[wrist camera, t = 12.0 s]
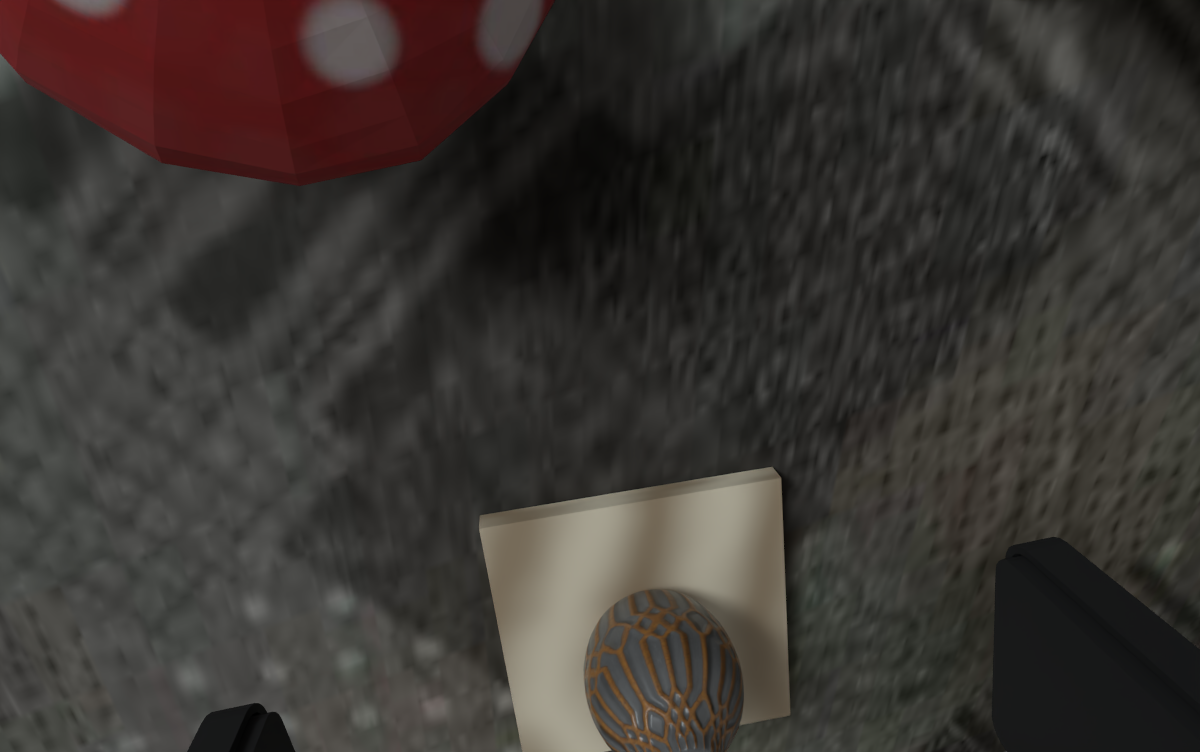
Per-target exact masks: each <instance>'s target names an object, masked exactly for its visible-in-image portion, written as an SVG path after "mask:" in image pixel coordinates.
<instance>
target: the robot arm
mask: <svg viewBox="0 0 1200 752" xmlns="http://www.w3.org/2000/svg"><path fill="white" fill-rule="evenodd" d="M992 720H993V724H994V728H995V731H996V733H997V736H998V738H999V740H1000V742H1001V743H1002V745H1003V746H1004V748H1005V749H1006V751H1007V752H1200V649H1198V648H1197V647H1196V646H1195V645H1193V644H1192V643H1191V642H1190V641H1188V640H1187V639H1186V638H1185V637H1183V636H1182V635H1181V634H1180V633H1178V632H1177V631H1176V630H1175V629H1174V628H1172V627H1171V626H1170V625H1169V624H1167V623H1166V622H1165V621H1164V620H1162V619H1161V618H1160V617H1159V616H1157V615H1156V614H1155V613H1154V612H1152V611H1151V610H1150V609H1149V608H1147V607H1146V606H1145V605H1144V604H1143V603H1141V602H1140V601H1139V600H1138V599H1136V598H1135V597H1134V596H1133V595H1131V594H1130V593H1129V592H1128V591H1126V590H1125V589H1124V588H1123V587H1121V586H1120V585H1119V584H1118V583H1117V582H1115V581H1114V580H1113V579H1112V578H1110V577H1109V576H1108V575H1107V574H1105V573H1104V572H1103V571H1102V570H1100V569H1099V568H1098V567H1097V566H1095V565H1094V564H1093V563H1092V562H1090V561H1089V560H1088V559H1087V558H1086V557H1084V556H1083V555H1082V554H1081V553H1079V552H1078V551H1077V550H1076V549H1074V548H1073V547H1072V546H1071V545H1069V544H1068V543H1067V542H1065V541H1064V540H1062V539H1060V538H1056V537H1051V538H1046V539H1041V540H1036V541H1032V542H1027V543H1022V544H1017V545H1013V546H1011V547H1009V549H1008V551H1007V552H1006V558H1005V559H1003V560H1000V561H999V562H998V563H997V566H996V583H995V621H994V658H993V696H992ZM187 752H295V750H294V748H293V745H292V743H291V740H290V738H289V736H288V733H287V731H286V728H285V726H284V724H283V721H282V719H281V717H280V715H279V714H278V713H276V712H270V713H267V712H266V710H265V708H264V707H263V706H262V705H261V704H259V703H253V704H249V705H244V706H239V707H234V708H229V709H225V710H220V711H215V712H211V713H210V714H208V715H207V716H206V717H205V719H204V720H203V722H202V723H201V725H200V727H199V729H198V731H197V733H196V735H195V737H194V739H193V741H192V743H191V745H190V747H189V749H188V751H187Z"/></svg>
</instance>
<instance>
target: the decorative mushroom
mask: <svg viewBox="0 0 1200 752" xmlns="http://www.w3.org/2000/svg"><path fill="white" fill-rule="evenodd" d="M554 1H555V0H0V54H1V55H2V56H3V57H4V58H5V59H6V60H7V62H8V63H9V64H10V65H11V66H12V67H13V68H14V69H15V71H16V72H17V73H18V74H19V75H20V76H21V77H22V78H23V79H24V81H25V82H26V83H28V84H30V85H31V86H33V87H35V88H36V89H38V90H40V91H41V92H43V93H45V94H46V95H48V96H50V97H51V98H53V99H55V100H57V101H58V102H60V103H62V104H63V105H65V106H67V107H68V108H70V109H72V110H73V111H75V112H77V113H79V114H80V115H82V116H84V117H85V118H87V119H89V120H90V121H92V122H94V123H95V124H97V125H99V126H100V127H102V128H104V129H106V130H107V131H109V132H111V133H112V134H114V135H116V136H117V137H119V138H121V139H122V140H124V141H126V142H127V143H129V144H131V145H133V146H134V147H136V148H138V149H139V150H141V151H143V152H144V153H146V154H148V155H149V156H151V157H153V158H154V159H156V160H158V161H160V162H161V163H165V164H171V165H177V166H183V167H189V168H195V169H201V170H207V171H213V172H219V173H225V174H231V175H237V176H243V177H249V178H255V179H261V180H267V181H273V182H279V183H285V184H291V185H297V186H302V185H306V184H311V183H316V182H320V181H325V180H330V179H335V178H339V177H344V176H349V175H354V174H358V173H363V172H368V171H372V170H377V169H382V168H387V167H391V166H396V165H401V164H406V163H410V162H415V161H420V160H422V159H423V158H424V157H426V156H427V155H428V154H429V153H430V152H431V151H432V150H433V149H435V148H436V147H437V146H438V145H439V144H440V143H441V142H443V141H444V140H445V139H446V138H447V137H448V136H449V135H450V134H452V133H453V132H454V131H455V130H456V129H457V128H458V127H460V126H461V125H462V124H463V123H464V122H465V121H466V120H468V119H469V118H470V117H471V116H472V115H473V114H474V113H475V112H477V111H478V110H479V109H480V108H481V107H482V106H483V105H485V104H486V103H487V102H488V101H489V100H490V99H491V98H493V97H494V96H495V95H496V94H497V93H498V92H499V91H500V90H502V89H503V88H504V87H505V86H506V85H507V84H508V83H509V81H510V80H511V78H512V76H513V74H514V72H515V71H516V69H517V67H518V65H519V64H520V62H521V60H522V58H523V57H524V55H525V53H526V51H527V49H528V48H529V46H530V44H531V42H532V41H533V39H534V37H535V35H536V33H537V32H538V30H539V28H540V26H541V25H542V23H543V21H544V19H545V17H546V16H547V14H548V12H549V10H550V9H551V7H552V5H553V3H554Z"/></svg>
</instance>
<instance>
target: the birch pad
mask: <svg viewBox="0 0 1200 752" xmlns="http://www.w3.org/2000/svg"><path fill="white" fill-rule="evenodd" d="M479 530H480V535H481V540H482V545H483V551H484V556H485V561H486V566H487V571H488V576H489V581H490V587H491V592H492V597H493V602H494V607H495V612H496V618H497V623H498V628H499V633H500V638H501V643H502V648H503V654H504V659H505V664H506V669H507V674H508V679H509V684H510V690H511V695H512V700H513V705H514V710H515V715H516V721H517V726H518V731H519V736H520V741H521V746H522V751H523V752H605V751H610V750H611V749H610V748H609V747H608V745H607V744H606V742H605V741H604V740H603V738H602V736H601V735H600V733H599V731H598V730H597V728H596V726H595V724H594V721H593V719H592V717H591V714H590V711H589V708H588V704H587V700H586V695H585V687H584V660H585V653H586V649H587V646H588V642H589V639H590V636H591V634H592V632H593V630H594V628H595V626H596V624H597V622H598V621H599V619H600V618H601V617H602V615H603V614H604V613H605V612H606V611H607V610H608V609H609V608H610V607H611V606H613V605H614V604H615V603H617V602H618V601H619V600H621V599H623V598H624V597H626V596H628V595H631V594H633V593H636V592H640V591H644V590H652V589H662V590H671V591H675V592H679V593H682V594H684V595H686V596H688V597H690V598H692V599H694V600H696V601H697V602H699V603H700V604H701V605H703V606H704V607H705V608H706V609H707V610H709V611H710V612H711V613H712V614H713V615H714V617H715V618H716V619H717V620H718V621H719V622H720V624H721V625H722V626H723V628H724V629H725V631H726V633H727V634H728V636H729V638H730V640H731V642H732V644H733V646H734V648H735V651H736V653H737V656H738V658H739V662H740V666H741V670H742V675H743V685H744V705H743V713H742V718H741V722H740V725H744V724H749V723H754V722H759V721H764V720H769V719H774V718H779V717H785V716H790V691H789V666H788V640H787V614H786V588H785V563H784V537H783V511H782V485H781V477H780V476H779V475H778V473H777V472H776V471H775V470H774V468H773V467H768V468H762V469H756V470H750V471H744V472H738V473H732V474H726V475H720V476H714V477H708V478H702V479H696V480H690V481H684V482H678V483H672V484H666V485H660V486H654V487H648V488H642V489H636V490H630V491H624V492H618V493H612V494H606V495H600V496H594V497H588V498H582V499H576V500H570V501H564V502H558V503H552V504H546V505H540V506H534V507H528V508H522V509H516V510H510V511H504V512H498V513H492V514H486V515H480V523H479Z"/></svg>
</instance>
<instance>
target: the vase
mask: <svg viewBox="0 0 1200 752" xmlns="http://www.w3.org/2000/svg"><path fill="white" fill-rule="evenodd" d="M584 687H585V695H586V700H587V704H588V708H589V711H590V714H591V717H592V719H593V721H594V724H595V726H596V728H597V730H598V731H599V733H600V735H601V736H602V738H603V740H604V741H605V742H606V744H607V745H608V747H609V748H610V749H611V750H612V751H613V752H726V751H727V750H728V748H729V746H730V745H731V743H732V741H733V739H734V737H735V735H736V733H737V730H738V728H739V725H740V722H741V718H742V713H743V705H744V685H743V675H742V670H741V666H740V662H739V658H738V656H737V653H736V651H735V648H734V646H733V644H732V642H731V640H730V638H729V636H728V634H727V633H726V631H725V629H724V628H723V626H722V625H721V624H720V622H719V621H718V620H717V619H716V618H715V617H714V615H713V614H712V613H711V612H710V611H709V610H707V609H706V608H705V607H704V606H703V605H701V604H700V603H699V602H697V601H696V600H694V599H692V598H690V597H688V596H686V595H684V594H682V593H679V592H675V591H671V590H662V589H652V590H644V591H640V592H636V593H633V594H631V595H628V596H626V597H624V598H623V599H621V600H619V601H618V602H617V603H615V604H614V605H613V606H611V607H610V608H609V609H608V610H607V611H606V612H605V613H604V614H603V615H602V617H601V618H600V619H599V621H598V622H597V624H596V626H595V628H594V630H593V632H592V634H591V636H590V639H589V642H588V646H587V649H586V653H585V660H584Z"/></svg>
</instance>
